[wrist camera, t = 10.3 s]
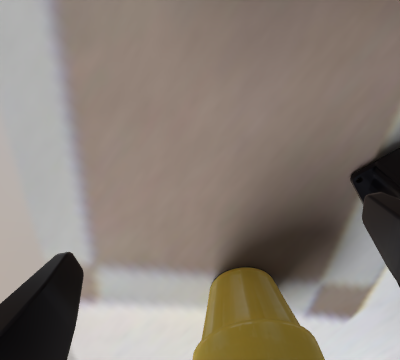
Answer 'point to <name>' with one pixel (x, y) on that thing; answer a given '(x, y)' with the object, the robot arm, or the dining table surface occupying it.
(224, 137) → the dining table surface
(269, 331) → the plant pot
